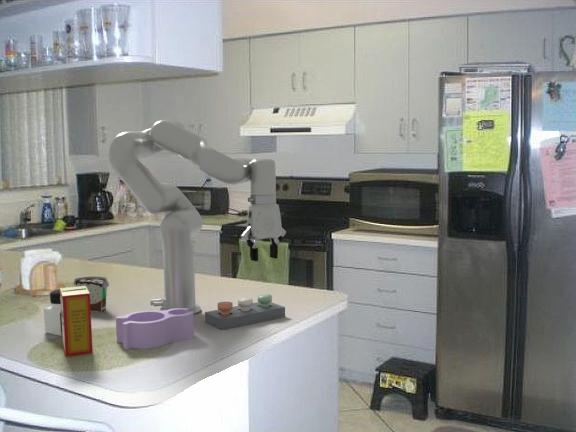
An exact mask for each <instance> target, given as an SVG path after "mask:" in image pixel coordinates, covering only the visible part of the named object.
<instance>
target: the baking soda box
mask: <svg viewBox="0 0 576 432" xmlns="http://www.w3.org/2000/svg"><path fill="white" fill-rule="evenodd" d="M59 289H60V302H61V321H62V336H61V339H62V347H63V351H64V355H65V358H66V357H73V356H74V357H75V356H81V355H89V354H94V353H93V334H92V332H93V331H92V311H91V308H90V293H89V291H88V289H87V287H86V286H77V287H76V286H68V287H66V286H65V287H60V288H59Z"/></svg>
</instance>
